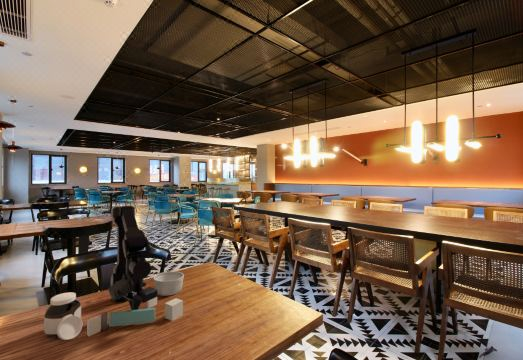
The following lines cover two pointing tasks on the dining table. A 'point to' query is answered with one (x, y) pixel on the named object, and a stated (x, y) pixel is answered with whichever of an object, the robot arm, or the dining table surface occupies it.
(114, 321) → the long teal plank
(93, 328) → the door frame
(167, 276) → the ramekin
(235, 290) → the dining table surface
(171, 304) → the block
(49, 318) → the spread jar
